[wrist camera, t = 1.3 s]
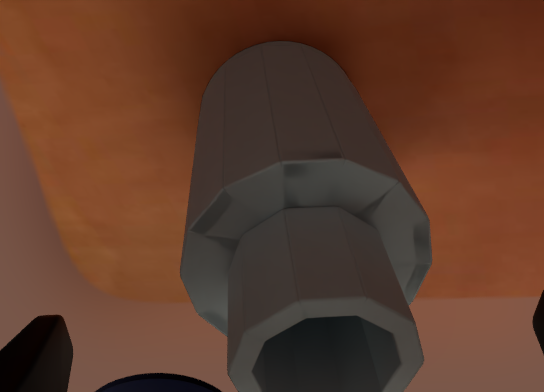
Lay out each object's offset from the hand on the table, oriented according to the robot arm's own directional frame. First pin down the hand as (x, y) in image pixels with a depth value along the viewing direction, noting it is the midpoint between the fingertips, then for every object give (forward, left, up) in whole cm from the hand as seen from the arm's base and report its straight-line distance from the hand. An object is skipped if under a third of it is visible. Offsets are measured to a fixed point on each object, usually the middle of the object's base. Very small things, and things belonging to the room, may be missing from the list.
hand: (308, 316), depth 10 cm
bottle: (0, 0, -9) cm, 9 cm away
